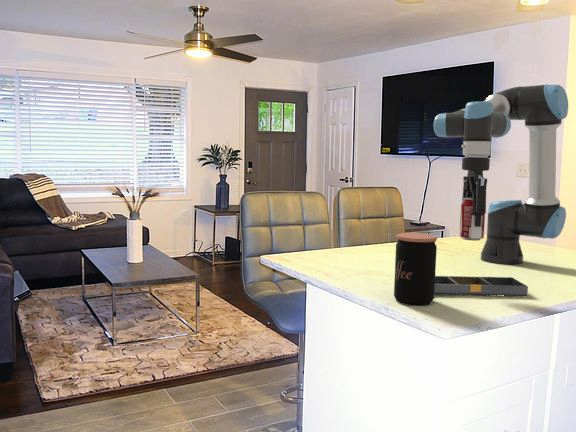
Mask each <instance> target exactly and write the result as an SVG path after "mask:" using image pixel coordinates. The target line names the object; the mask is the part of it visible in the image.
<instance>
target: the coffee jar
mask: <svg viewBox="0 0 576 432" xmlns="http://www.w3.org/2000/svg"><path fill="white" fill-rule="evenodd" d="M396 239H397V242H396V244H395V260H394V263H395V264H394V282H393V283H394V286H393V297H394V299H395V300H396V302H398V303H399V304H402V305H406V306H413V307H421V306H422V307H424V306H429V305H430V304H432V302H433V301H434V299H435V295H434V291H435V276H436V271H437V270H436V269H437V249H438V248H437V244H436V241H437V240H438V237H437V236H436V235H435V234H429V233H428V234H427V233H420V232H403V233H401V232H400V233H397V234H396Z"/></svg>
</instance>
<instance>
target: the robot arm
mask: <svg viewBox="0 0 576 432" xmlns="http://www.w3.org/2000/svg"><path fill="white" fill-rule="evenodd" d="M568 113H569V99H568V95H567V92H566V90H565V88H564V87H563V86H562V85H561V84H560V85H559V84H540V85H528V86H527V85H526V86H515V87H510V88H506V89H504V90H502V91H498V92H496V93H493V94H491V95H488V97H486V99H484V100H483V101H470V102H467V103H466V104H465V108H462V109H459V110H457V111H454V112H443V113H439V114H437V115H436V116H435V117H434V121H433V131H434V134H435V136H437V137H439V138H463V140H462V143H463V144H461V148H462V155H463V156H464V157H462V160H461V161H462V162H461V170H463V171H467V175H466V176H463V185H462V186H463V187H462V199H461V203H462V202H463V201H464V198H473V213H471V215H472V223H471V238H481V230H482V215H483V214H485V215H486V213H487V225H486V240H485V243H484V244H483V245H484V246H483V248H482V250H481V252H480V259H481V260H482V261H484V262H488V263H493V264H502V265H503V264H504V265H517V264H522V263H524V255H523V252H522V247H521V244H520V236H525V237H534V238H541V239H556V238H558V237H559V236H560V235H561V233H562V232H563V229H564V228H565V223H566V217H567V211H566V210H567V209H566V208H565V207H563V206H561V200H560V199H559V198H558V197H557V195H556V184H557V183H556V181H557V180H556V179H557V178H556V174H557V173H556V172H557V171H556V170H557V129H558V128H559V127H561V125H562V121H563V120H564V119H566V118H567V116H568ZM512 121H524V127H526V128H527V129H528V131H529V136H528V137H529V140H528V141H529V142H528V143H529V144H528V145H529V149H528V150H529V151H528V152H529V156H528V157H529V158H528V159H529V160H528V163H529V164H528V165H529V166H528V167H529V168H528V169H529V170H528V171H529V173H528V179H529V180H528V183H529V184H528V197H526V199H525V200H524V203H523V200H522V199H508V200H497V201H492V202H490V203H489V205H488V210H487V185H488V178H485V177H484V172H487V171H490V164H491V163H490V161H491V159H490V157H489V156H491V151H492V138H496V139H497V138H502V137H504V136H506V135H507V134H508V133H509V131H510V130H511V127H512V126H511V125H512Z"/></svg>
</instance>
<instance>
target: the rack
mask: <svg viewBox="0 0 576 432" xmlns="http://www.w3.org/2000/svg"><path fill="white" fill-rule="evenodd" d="M528 289H529V286H528V285H526V284H524V283H523V282H521V281H519V280H518V279H516V278H514V277H510V276H508V277H506V276H505V277H502V276H462V275H461V276H460V275H459V276H456V275H455V276H454V275H453V276H452V275H435V291H434V296H468V295H470V296H471V295H472V296H477V297H478V296H479V297H491V296H490V295H496V296H495V297H498V296H497V295H504V296H503V297H517V296H527V297H528V295H529V294H528ZM487 295H488V296H487Z"/></svg>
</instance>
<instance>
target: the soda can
mask: <svg viewBox="0 0 576 432" xmlns="http://www.w3.org/2000/svg"><path fill="white" fill-rule="evenodd" d="M471 213H473V198H464V201H463V202H462V201H461V204H460V217H459V232H458V233H459V235H458V237H459V238H461V239H462V240H465V241H477V242H478V241H481V240H482V239H484V238H485V237H484V236H485V219H486V213H485V214H483V215H482V230H481V238H471V223H472V215H471Z"/></svg>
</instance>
